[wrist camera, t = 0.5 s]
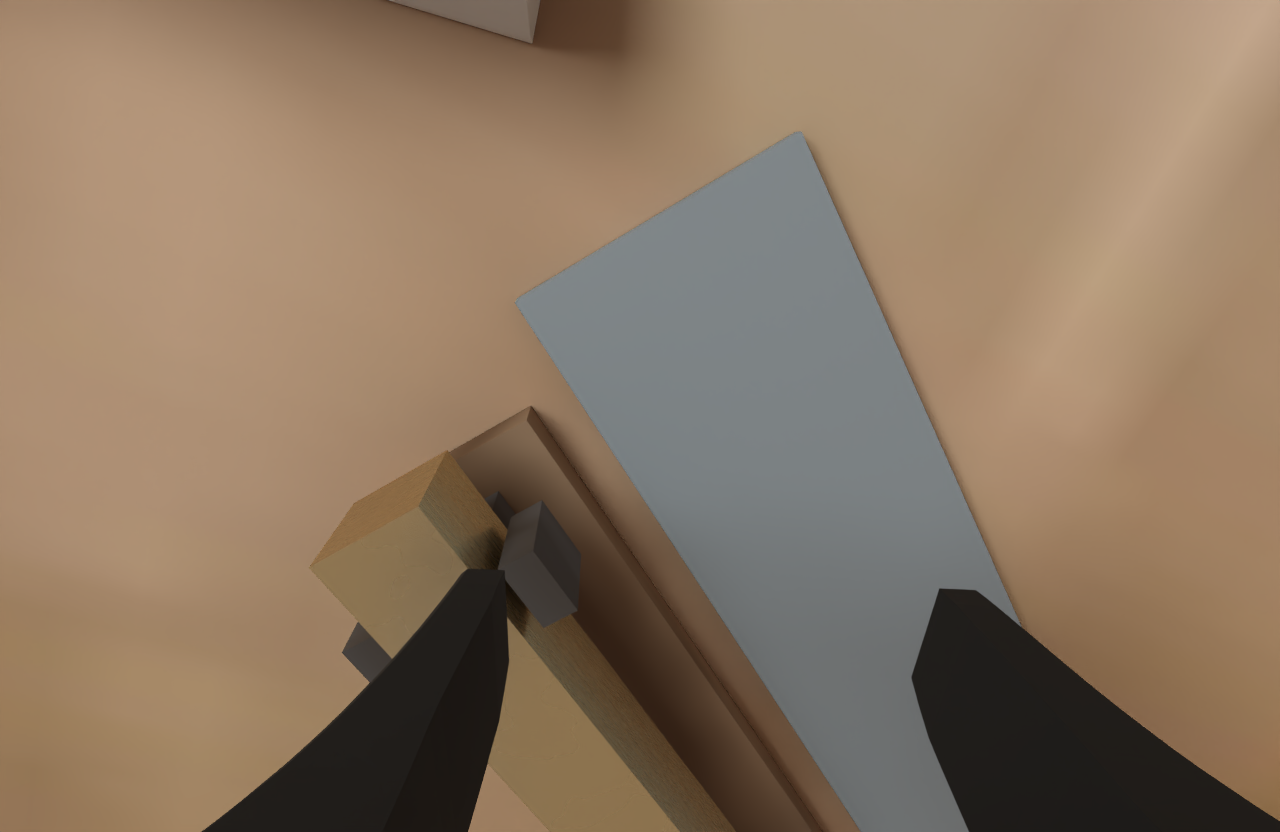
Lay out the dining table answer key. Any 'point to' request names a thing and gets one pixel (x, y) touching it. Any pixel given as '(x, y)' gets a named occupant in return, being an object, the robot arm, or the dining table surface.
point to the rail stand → (613, 619)
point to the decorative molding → (486, 14)
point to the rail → (515, 663)
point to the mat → (782, 460)
